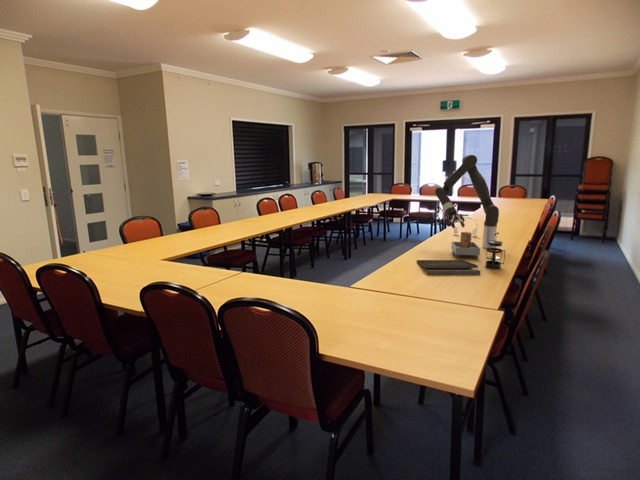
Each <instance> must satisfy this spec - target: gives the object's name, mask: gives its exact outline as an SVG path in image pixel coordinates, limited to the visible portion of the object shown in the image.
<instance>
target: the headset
mask: <svg viewBox="0 0 640 480" xmlns="http://www.w3.org/2000/svg"><path fill="white" fill-rule="evenodd" d="M462 216H463V218H464V219H468V220H469V219H470V220H471V219H473V220H474V222H475V225H476V226H473V227H472V231H471V233H472V234H471V235H473V236H474V235H475V237H476V236H477V233H478V232H477V231H478V222H477V219H476V218H475V217H473V216H470V215H462ZM453 223H454V225H455V228H453V235H454V236H455V235H457V234H458V233H459V227H458V225H456V223H457V221H453Z"/></svg>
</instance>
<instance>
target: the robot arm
mask: <svg viewBox="0 0 640 480" xmlns="http://www.w3.org/2000/svg"><path fill="white" fill-rule="evenodd" d="M461 162H462V164H461V165H460V166H459V167H458V168H457V169H456V171H454V172H453V173H451V174H450V175H449V176H448V177H447V178H446V179H445V181H444V182H443V186H438V187H436V188H435V190H434V194H435V196H436V197H437V199H438V200H439V202H440V205H441V206H442V209H443V211H444V212H445V214H446V215H445V217H444V219H445V221H446V223H447V224H449V225H450V227H451V228H452V229H454V228H455V226H456V224H455V225H454V222H455V221H456V223H460V226H461V227H462V228H465V227H466V225H465V223H464V222H465V221H466V220H465V218H463V216H464V215H462V214H458V211H457V209H456V207H455V205H454V204H453V203H452V201H451V199H450V197H449V196H448V194H449V193H450V191H451V190H452V188H453V187H454V186H455V185H456V183H458V182H459V180H460V179H461V178H462V177H463V176H464V175H465V174H466V173H468V176H469V178H470V181H471V184H472V186H473V189H474V191H475V193H476V195H477V197H478V199H479V200H480V202H481V206H482V207H483V211H484V212H483V213H485V214H484V215H485V220H484V223H483V232H482V244H481V245H482V247H481V248H484V249H487V248H494V246H490V245H489V243H488V241H495V234H493V232H497V226H498V222H499V214H500V209H499V208H498V206H496V205H495V204H494V202H493V201H492V199H491V198H492V197H491V195H490V191H489V186H488V184H487V182H486V180H485V178H484V176H483V175H482V174H481V173H480V171H479V170H478V168H477V163H478V157H477V156H476V155H475V154H467V155H465V156H464V157H463V158H462V161H461ZM497 237H498V236H497V235H496V239H497ZM495 248H497V247H495Z"/></svg>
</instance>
